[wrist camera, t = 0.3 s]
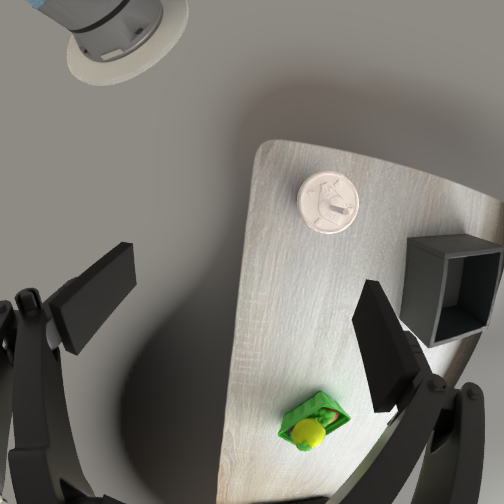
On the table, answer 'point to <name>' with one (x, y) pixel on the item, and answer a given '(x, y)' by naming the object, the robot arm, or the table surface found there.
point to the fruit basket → (312, 421)
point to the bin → (449, 286)
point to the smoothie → (327, 202)
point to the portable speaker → (311, 501)
